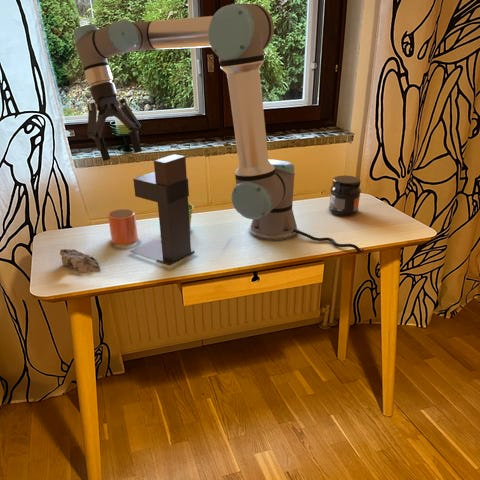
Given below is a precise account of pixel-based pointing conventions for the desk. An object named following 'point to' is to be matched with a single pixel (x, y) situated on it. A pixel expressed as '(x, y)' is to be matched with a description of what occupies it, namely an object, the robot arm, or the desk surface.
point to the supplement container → (345, 195)
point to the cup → (123, 226)
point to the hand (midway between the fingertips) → (123, 156)
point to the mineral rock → (79, 261)
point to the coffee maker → (167, 209)
